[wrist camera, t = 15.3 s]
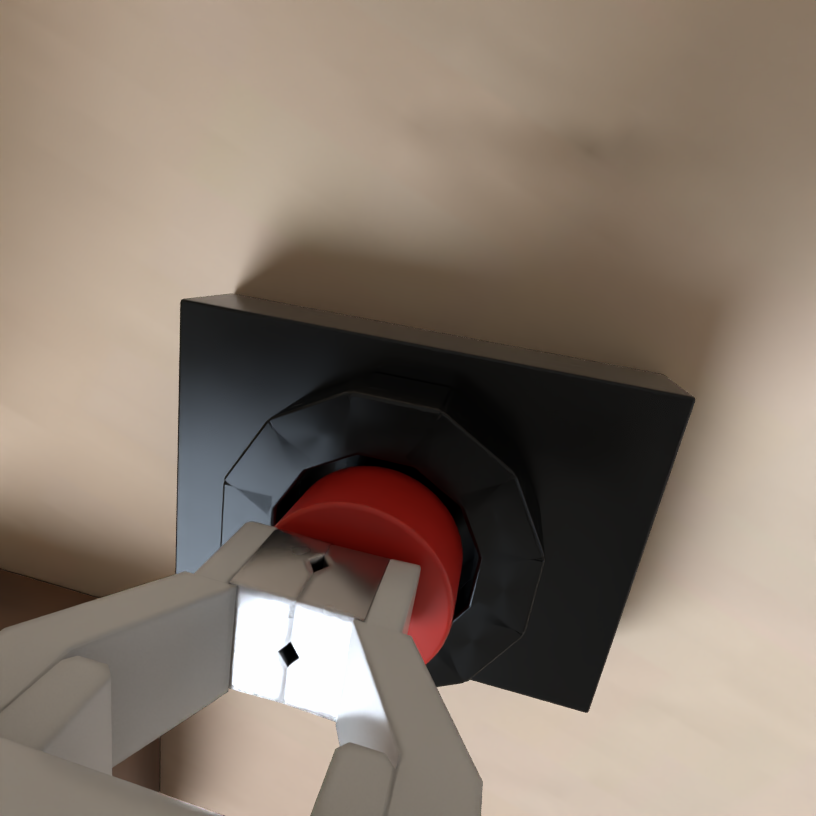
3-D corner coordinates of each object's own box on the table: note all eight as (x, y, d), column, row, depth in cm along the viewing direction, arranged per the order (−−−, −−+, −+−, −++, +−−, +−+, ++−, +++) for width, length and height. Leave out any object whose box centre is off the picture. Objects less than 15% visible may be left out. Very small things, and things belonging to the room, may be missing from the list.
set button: (479, 487, 10) (472, 533, 8) (446, 640, 11) (433, 709, 9) (301, 446, 10) (259, 482, 8) (286, 595, 11) (247, 653, 10)
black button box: (665, 374, 12) (736, 426, 8) (577, 648, 14) (600, 788, 10) (230, 293, 13) (119, 305, 10) (218, 552, 16) (126, 643, 12)
